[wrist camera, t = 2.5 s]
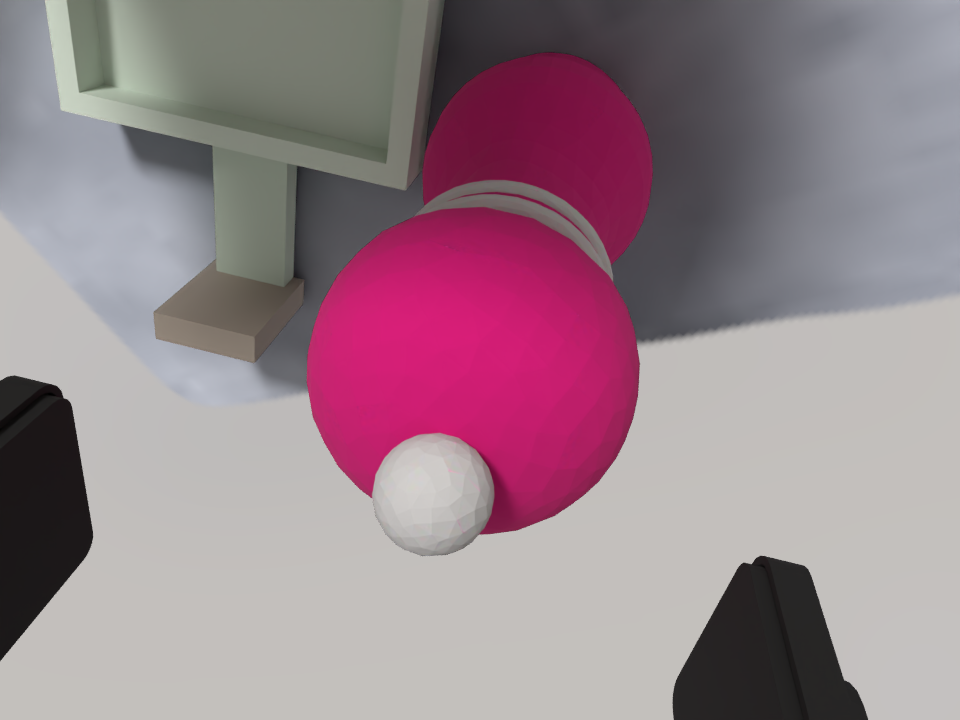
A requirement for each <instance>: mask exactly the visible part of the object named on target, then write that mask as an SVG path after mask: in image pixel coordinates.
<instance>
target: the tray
mask: <svg viewBox="0 0 960 720" xmlns="http://www.w3.org/2000/svg"><path fill="white" fill-rule="evenodd" d="M444 3H445V0H45V5H46V12H47V18H48V25H49V32H50V39H51V45H52V52H53V59H54V66H55V72H56V79H57V86H58V93H59V99H60V106H61V110H62V111H66V112H70V113H74V114H79V115H83V116H87V117H91V118H96V119H100V120H104V121H109V122H113V123H117V124H121V125H126V126H130V127H134V128H139V129H143V130H147V131H151V132H156V133H160V134H164V135H169V136H173V137H177V138H181V139H186V140H190V141H194V142H199V143H203V144H207V145H211V146H212V152H213V181H214V211H215V240H216V260H214V261H213V262H212V263H211V264H210V265H208V266H207V267H206V268H205V269H204V270H203V271H201V272H200V273H199V274H198V275H197V276H196V277H194V278H193V279H192V280H191V281H190V282H188V283H187V284H186V285H185V286H184V287H183V288H181V289H180V290H179V291H178V292H177V293H175V294H174V295H173V296H172V297H171V298H170V299H168V300H167V301H166V302H165V303H164V304H163V305H161V306H160V307H159V308H158V309H157V310H155V311H154V323H155V334H156V339H159V340H163V341H167V342H171V343H175V344H179V345H184V346H188V347H192V348H196V349H200V350H204V351H208V352H212V353H216V354H220V355H224V356H228V357H232V358H236V359H240V360H244V361H248V362H252V363H255V362H256V361H257V360H258V358H259V357H260V356H261V355H262V353H263V352H264V351H265V350H266V349H267V347H268V346H269V345H270V344H271V342H272V341H273V340H274V339H275V338H276V336H277V335H278V334H279V333H280V331H281V330H282V329H283V328H284V327H285V325H286V324H287V323H288V322H289V320H290V319H291V318H292V317H293V316H294V314H295V313H296V312H297V311H298V310H299V308H300V307H301V306H302V305H303V300H304V280H303V279H299V278H295V277H293V272H294V241H295V211H296V181H297V166H301V167H306V168H310V169H314V170H318V171H323V172H327V173H331V174H336V175H340V176H344V177H348V178H353V179H357V180H361V181H366V182H370V183H374V184H378V185H383V186H387V187H391V188H396V189H400V190H404V191H406V190H407V189H408V187H409V186H410V185H411V183H412V182H413V181H414V180H415V178H416V177H417V176H418V175H419V173H420V172H421V171H422V168H423V160H424V153H425V145H426V138H427V130H428V123H429V115H430V108H431V100H432V93H433V85H434V78H435V70H436V63H437V55H438V48H439V40H440V33H441V25H442V18H443V10H444Z"/></svg>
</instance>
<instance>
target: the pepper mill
mask: <svg viewBox="0 0 960 720" xmlns="http://www.w3.org/2000/svg"><path fill="white" fill-rule="evenodd" d="M422 173H423V200H424V207H423V208H422V209H420V210H419V211H418V212H417V213H416V214H415V215H414V216H413V217H412V218H410V219H408V220H406V221H404V222H402V223H399V224H397V225H395V226H393V227H391V228H389V229H387V230H385V231H383V232H381V233H380V234H379V235H378V236H377V237H375V238H374V239H373V240H372V241H371V242H369V243H368V244H367V245H366V246H365V247H364V248H362V249H361V250H360V251H359V252H358V253H357V254H356V255H355V256H354V258H353V259H352V260H351V261H350V262H349V263H348V264H347V265H346V266H345V268H344V269H343V270H342V271H341V272H340V273H339V274H338V275H337V277H336V279H335V281H334V282H333V284H332V286H331V288H330V290H329V291H328V293H327V295H326V297H325V299H324V300H323V302H322V304H321V307H320V310H319V313H318V316H317V319H316V322H315V325H314V328H313V332H312V337H311V341H310V345H309V350H308V356H307V386H308V392H309V397H310V403H311V409H312V414H313V418H314V421H315V423H316V425H317V427H318V429H319V432H320V434H321V436H322V438H323V441H324V443H325V444H326V446H327V448H328V450H329V451H330V453H331V455H332V456H333V458H334V460H335V462H336V463H337V465H338V466H339V468H340V469H341V470H342V471H343V472H344V473H345V474H346V475H347V476H348V477H349V478H350V479H351V480H352V481H353V483H355V485H356V486H357V487H358V488H359V489H360V490H362V491H363V492H364V493H366V494H367V495H369V496H370V497H371V498H372V499H373V504H374V510H375V516H376V518H377V520H378V522H379V523H380V525H381V527H382V529H383V530H384V532H385V534H386V535H387V536H388V537H389V538H390V539H391V540H392V541H393V542H394V543H395V544H396V545H398V546H399V547H401V548H403V549H404V550H407V551H410V552H413V553H415V554H418V555H421V556H434V555H447V554H450V553H453V552H456V551H458V550H460V549H463V548H464V547H466V546H467V545H469V544H470V543H471V542H472V541H473V540H474V539H475V538H476V537H477V536H478V535H479V534H494V533H501V532H509V531H516V530H519V529H522V528H524V527H527V526H530V525H532V524H535V523H537V522H540V521H543V520H545V519H547V518H550V517H553V516H555V515H556V514H558V513H559V512H561V511H562V510H564V509H565V508H567V507H568V506H570V505H571V504H573V503H574V502H575V501H577V500H578V499H579V498H581V497H582V496H583V495H584V494H586V492H588V491H589V490H590V489H591V488H592V487H593V486H594V485H595V484H597V483H598V482H599V481H600V479H601V478H602V476H603V475H604V474H605V472H606V471H607V470H608V468H609V467H610V466H611V464H612V463H613V462H614V460H615V459H616V457H617V455H618V453H619V451H620V450H621V448H622V445H623V444H624V442H625V439H626V437H627V433H628V431H629V428H630V426H631V423H632V420H633V416H634V412H635V407H636V402H637V397H638V385H639V367H640V366H639V365H640V363H639V356H638V350H637V343H636V337H635V331H634V327H633V324H632V321H631V318H630V315H629V311H628V308H627V306H626V304H625V303H624V301H623V299H622V297H621V296H620V294H619V292H618V290H617V289H616V287H615V285H614V283H613V274H612V269H611V265H612V264H613V263H614V262H615V261H616V260H617V259H618V258H619V257H620V256H621V255H622V254H623V253H624V251H625V250H626V249H627V247H628V246H629V245H630V243H631V242H632V241H633V239H634V238H635V236H636V234H637V232H638V230H639V229H640V227H641V225H642V223H643V220H644V217H645V214H646V211H647V208H648V205H649V198H650V192H651V184H652V177H653V165H652V153H651V148H650V143H649V138H648V135H647V132H646V130H645V127H644V125H643V123H642V121H641V118H640V116H639V114H638V113H637V111H636V110H635V108H634V107H633V105H632V104H631V102H630V101H629V99H628V98H627V97H626V96H625V95H624V94H623V93H622V92H621V90H620V89H619V87H618V86H617V84H616V83H615V82H614V81H613V80H612V79H611V78H610V77H609V76H608V75H607V74H606V73H604V72H603V71H602V70H601V69H599V68H598V67H596V66H595V65H593V64H592V63H590V62H588V61H586V60H584V59H582V58H579V57H576V56H573V55H568V54H561V53H552V52H549V53H538V54H533V55H529V56H526V57H521V58H517V59H513V60H510V61H507V62H503V63H500V64H497V65H495V66H493V67H491V68H489V69H487V70H485V71H483V72H481V73H480V74H478V75H477V76H475V77H474V78H473V79H471V80H470V81H468V82H467V83H466V84H465V85H464V86H463V87H462V88H461V89H460V90H459V91H458V92H457V93H456V94H455V95H454V96H453V97H452V99H451V100H450V101H449V103H448V104H447V106H446V107H445V108H444V110H443V111H442V113H441V116H440V118H439V120H438V122H437V124H436V126H435V128H434V130H433V132H432V134H431V136H430V139H429V142H428V145H427V149H426V152H425V156H424V164H423V171H422Z"/></svg>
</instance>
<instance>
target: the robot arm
mask: <svg viewBox="0 0 960 720" xmlns="http://www.w3.org/2000/svg"><path fill="white" fill-rule="evenodd" d="M92 540H93V530H92V524H91V518H90V512H89V506H88V500H87V494H86V488H85V482H84V476H83V470H82V465H81V458H80V452H79V446H78V440H77V434H76V428H75V422H74V417H73V410H72V406H71V403H70V402H69V401H68V400H67V399H64V398H63V395H62V392H61V390H60V389H59V388H58V387H57V386H55V385H52V384H47V383H43V382H39V381H35V380H31V379H27V378H23V377H18V376H10V377H6V378H4V379H3V380H1V381H0V661H1V660H2V658H3V657H4V656H5V655H6V653H7V652H8V651H9V650H10V649H11V647H12V646H13V645H14V644H15V643H16V641H17V640H18V639H19V638H20V636H21V635H22V634H23V633H24V632H25V630H26V629H27V628H28V626H29V625H30V624H31V623H32V622H33V621H34V619H35V618H36V617H37V616H38V615H39V613H40V612H41V611H42V610H43V608H44V607H45V606H46V605H47V603H48V602H49V601H50V600H51V599H52V598H53V596H54V595H55V594H56V593H57V591H58V590H59V589H60V588H61V587H62V585H63V584H64V583H65V582H66V581H67V579H68V578H69V577H70V576H71V574H72V573H73V572H74V571H75V570H76V568H77V567H78V566H79V565H80V563H81V562H82V561H83V560H84V558H85V557H86V555H87V554H88V552H89V550H90V547H91V544H92ZM673 715H674V720H868V718H867V715H866V711H865V708H864V705H863V703H862V701H861V699H860V697H859V694H858V692H857V690H856V689H855V688H854V687H853V686H852V685H851V684H850V683H849V682H847V681H844V679H843V676H842V673H841V669H840V666H839V663H838V660H837V657H836V653H835V650H834V647H833V644H832V641H831V637H830V634H829V631H828V628H827V625H826V622H825V618H824V615H823V612H822V609H821V606H820V602H819V599H818V596H817V593H816V590H815V586H814V583H813V580H812V577H811V575H810V572H809V570H808V569H807V568H806V567H805V566H803V565H799V564H795V563H791V562H786V561H782V560H778V559H774V558H770V557H766V556H759V557H757V558H756V559H755V560H754V562H753V563H752V564H748V563H742V564H741V565H740V566H739V567H738V569H737V571H736V573H735V575H734V576H733V578H732V580H731V582H730V584H729V585H728V587H727V589H726V591H725V593H724V594H723V596H722V598H721V600H720V601H719V603H718V605H717V607H716V609H715V611H714V612H713V614H712V616H711V618H710V620H709V621H708V623H707V625H706V627H705V629H704V630H703V632H702V634H701V636H700V638H699V640H698V641H697V643H696V645H695V647H694V648H693V650H692V652H691V654H690V656H689V658H688V659H687V661H686V663H685V665H684V667H683V668H682V670H681V672H680V674H679V676H678V678H677V680H676V683H675V686H674V693H673Z"/></svg>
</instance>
